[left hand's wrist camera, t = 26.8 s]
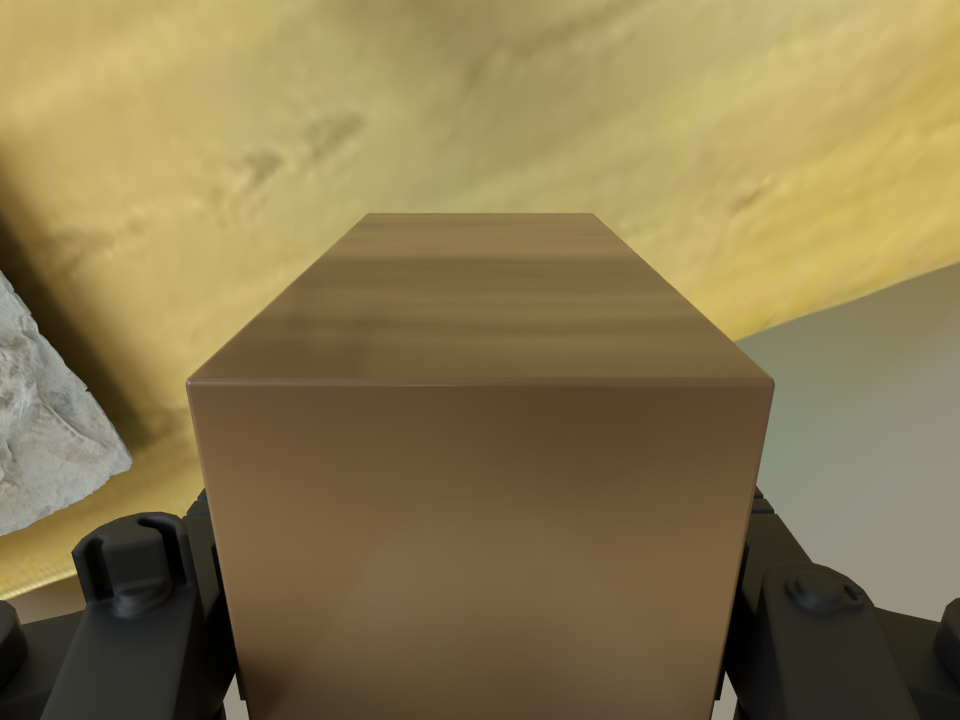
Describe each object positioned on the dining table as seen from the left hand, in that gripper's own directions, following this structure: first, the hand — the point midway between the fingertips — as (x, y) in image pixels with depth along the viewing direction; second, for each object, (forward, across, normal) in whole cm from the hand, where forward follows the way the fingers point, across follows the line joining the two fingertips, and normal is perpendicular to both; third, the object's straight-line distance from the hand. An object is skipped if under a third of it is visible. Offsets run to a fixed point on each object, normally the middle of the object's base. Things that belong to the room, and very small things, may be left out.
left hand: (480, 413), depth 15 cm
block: (+2, 0, 0) cm, 2 cm away
